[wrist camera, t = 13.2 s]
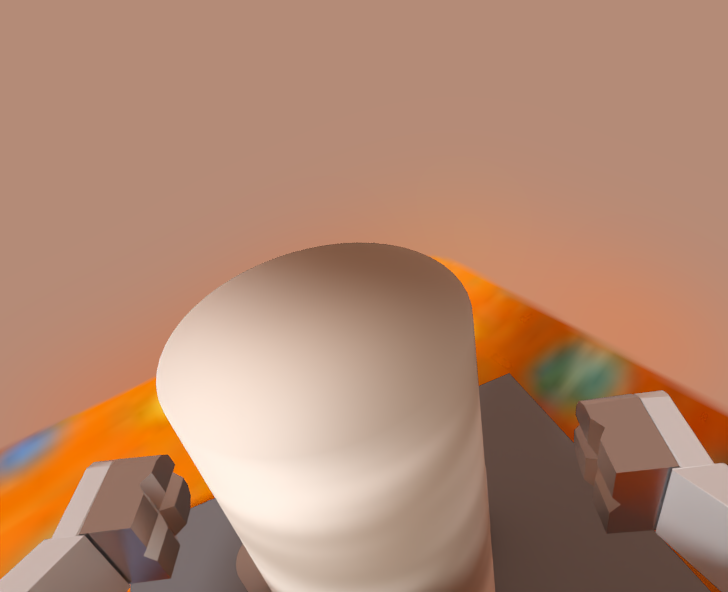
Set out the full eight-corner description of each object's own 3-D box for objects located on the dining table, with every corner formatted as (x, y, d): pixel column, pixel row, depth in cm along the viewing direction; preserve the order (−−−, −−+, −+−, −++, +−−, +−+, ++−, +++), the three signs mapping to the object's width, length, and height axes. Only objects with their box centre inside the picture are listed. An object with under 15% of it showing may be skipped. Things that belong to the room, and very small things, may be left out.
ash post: (372, 806, 12) (164, 526, 5) (317, 617, 16) (151, 301, 9) (537, 710, 13) (545, 360, 6) (450, 551, 17) (392, 216, 10)
